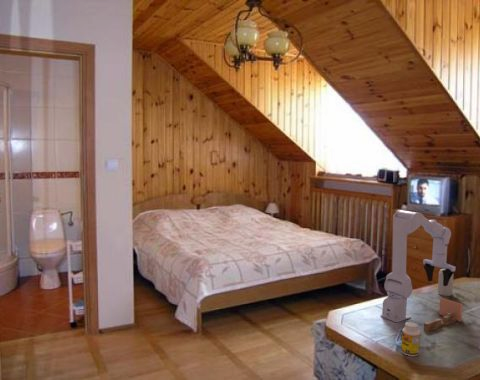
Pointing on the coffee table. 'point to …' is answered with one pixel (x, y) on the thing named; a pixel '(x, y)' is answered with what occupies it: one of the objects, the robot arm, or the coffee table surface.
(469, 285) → the coffee table surface
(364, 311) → the coffee table surface
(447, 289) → the beverage can
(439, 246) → the robot arm
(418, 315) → the coffee table surface
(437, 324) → the walnut board
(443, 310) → the tan flat plank
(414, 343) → the supplement bottle
